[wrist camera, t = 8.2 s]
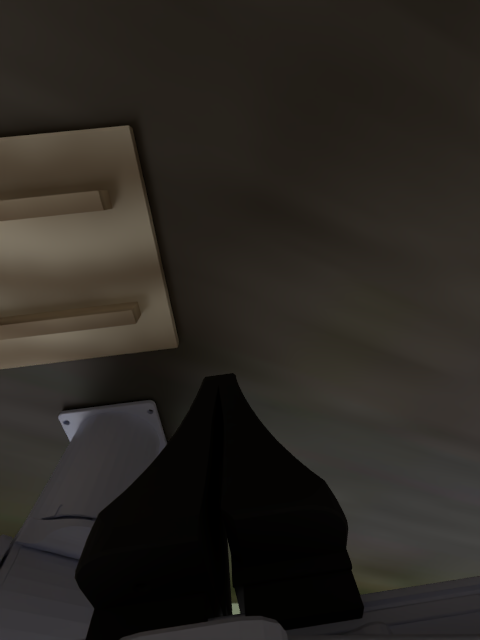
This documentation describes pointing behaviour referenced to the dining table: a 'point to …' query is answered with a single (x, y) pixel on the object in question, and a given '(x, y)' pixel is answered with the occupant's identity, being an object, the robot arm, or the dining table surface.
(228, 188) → the dining table surface
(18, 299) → the shelf slot
